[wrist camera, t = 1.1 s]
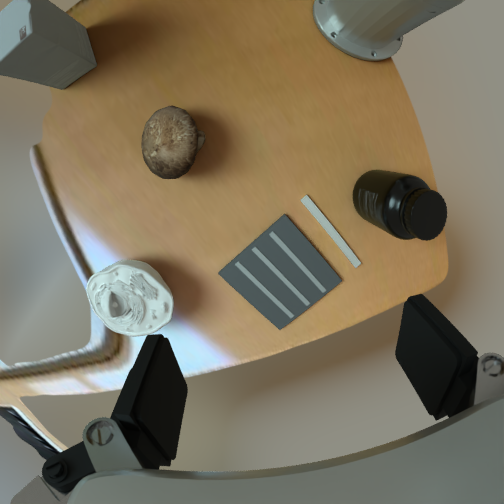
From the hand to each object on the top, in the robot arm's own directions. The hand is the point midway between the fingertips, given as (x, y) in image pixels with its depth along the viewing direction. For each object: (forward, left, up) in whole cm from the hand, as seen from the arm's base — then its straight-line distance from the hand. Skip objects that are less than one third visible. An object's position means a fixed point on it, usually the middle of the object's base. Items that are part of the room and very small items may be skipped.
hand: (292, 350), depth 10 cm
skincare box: (+2, -34, -25) cm, 42 cm away
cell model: (+18, -4, -25) cm, 31 cm away
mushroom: (+1, -13, -25) cm, 28 cm away
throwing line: (-5, +8, -24) cm, 26 cm away
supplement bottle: (-13, +8, -25) cm, 29 cm away
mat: (+3, +8, -24) cm, 26 cm away
